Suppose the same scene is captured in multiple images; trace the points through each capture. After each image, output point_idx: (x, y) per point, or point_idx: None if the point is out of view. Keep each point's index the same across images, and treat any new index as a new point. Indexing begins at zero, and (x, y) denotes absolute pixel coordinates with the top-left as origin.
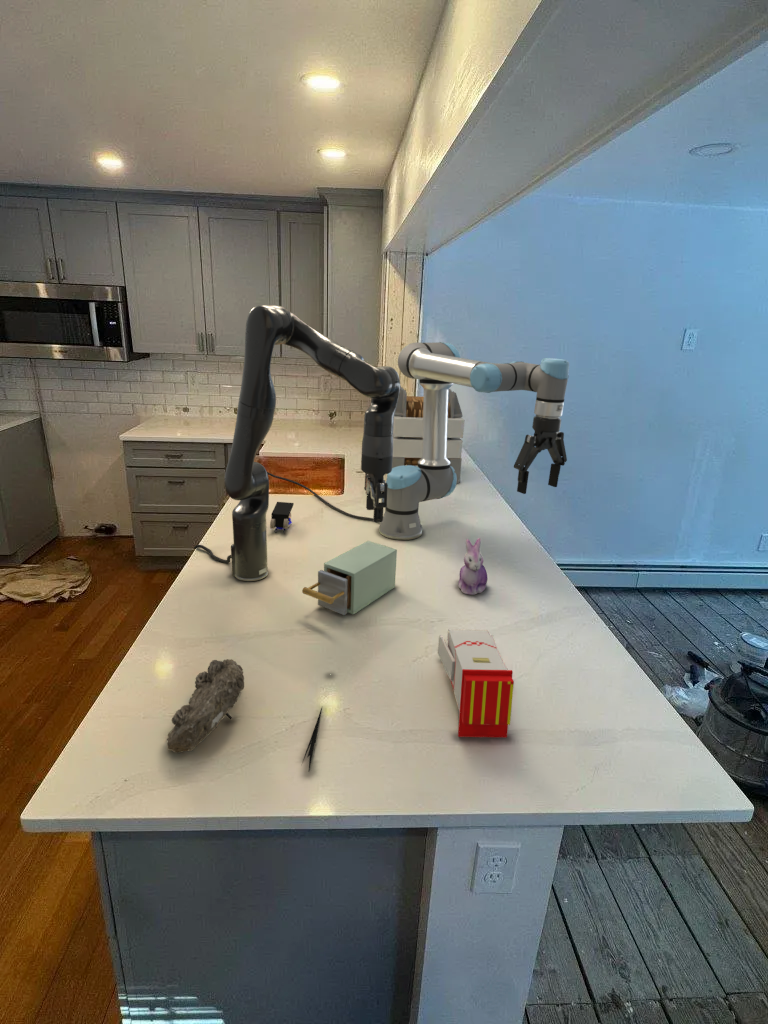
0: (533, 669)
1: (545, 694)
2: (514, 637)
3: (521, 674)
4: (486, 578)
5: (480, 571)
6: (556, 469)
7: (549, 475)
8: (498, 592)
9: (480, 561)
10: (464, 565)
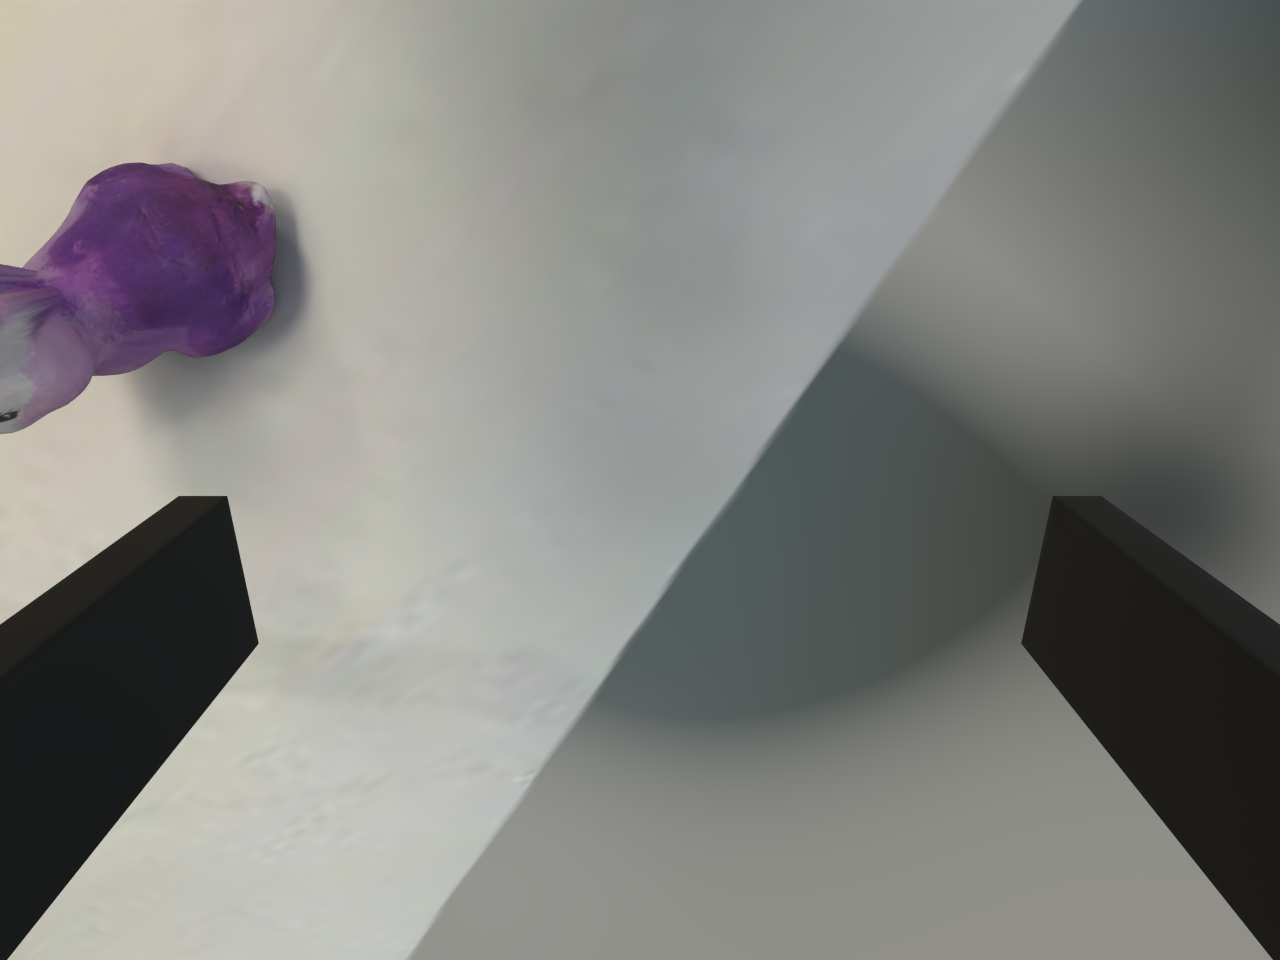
0: None
1: None
2: None
3: None
4: (216, 352)
5: (118, 364)
6: (1265, 888)
7: (1170, 592)
8: (316, 390)
9: (16, 418)
10: (90, 199)
